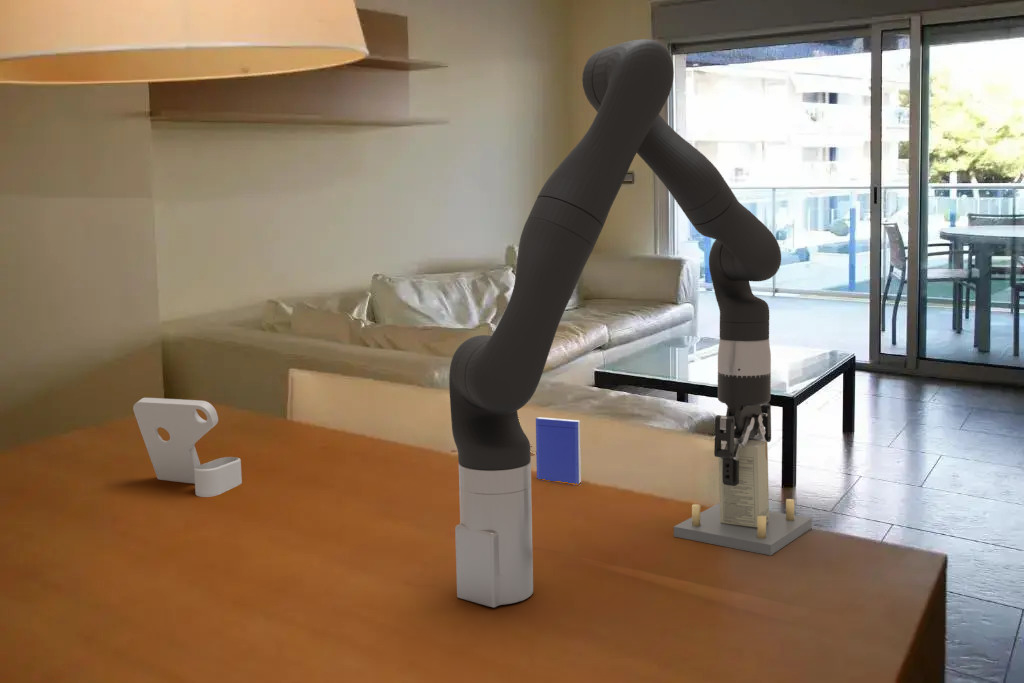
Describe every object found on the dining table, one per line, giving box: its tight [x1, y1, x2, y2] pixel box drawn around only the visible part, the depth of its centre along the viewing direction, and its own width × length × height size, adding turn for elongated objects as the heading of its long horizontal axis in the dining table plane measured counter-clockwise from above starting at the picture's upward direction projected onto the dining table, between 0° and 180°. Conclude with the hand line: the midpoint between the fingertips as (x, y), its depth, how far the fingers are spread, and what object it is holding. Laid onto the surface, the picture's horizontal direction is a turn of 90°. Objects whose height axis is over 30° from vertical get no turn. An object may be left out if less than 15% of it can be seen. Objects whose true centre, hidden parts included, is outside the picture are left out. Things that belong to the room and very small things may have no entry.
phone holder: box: [132, 397, 243, 498], centre depth 170 cm, size 17×10×18 cm, turn 69°
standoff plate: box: [673, 498, 813, 556], centre depth 143 cm, size 15×15×4 cm
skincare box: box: [718, 440, 770, 527], centre depth 143 cm, size 6×4×12 cm
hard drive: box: [535, 416, 582, 484], centre depth 170 cm, size 2×8×12 cm, turn 61°
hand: (743, 478), depth 143 cm, fingers open, 8 cm apart
